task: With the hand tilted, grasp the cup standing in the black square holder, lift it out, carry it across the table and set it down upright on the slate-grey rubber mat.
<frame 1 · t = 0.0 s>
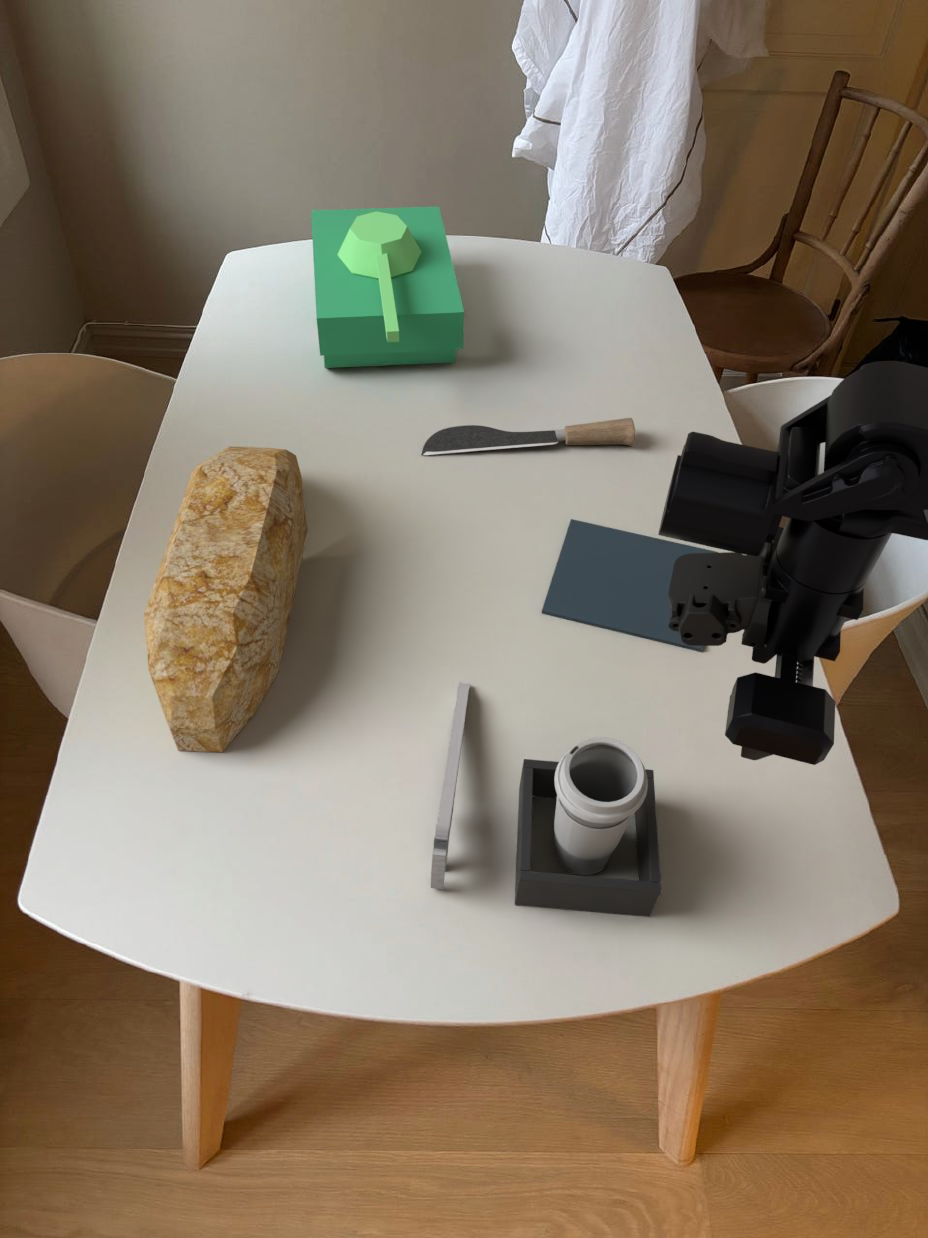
hand: (753, 706, 70), 13 cm above the table, tool pointing down, fingers open, 9 cm apart
toy tank: (386, 334, 125), on the table
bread: (238, 599, 93), on the table
caliper: (451, 782, 81), on the table
cup: (581, 850, 77), resting in holder
mat: (627, 560, 98), on the table
hand tool: (525, 441, 111), on the table
holder: (581, 849, 77), on the table
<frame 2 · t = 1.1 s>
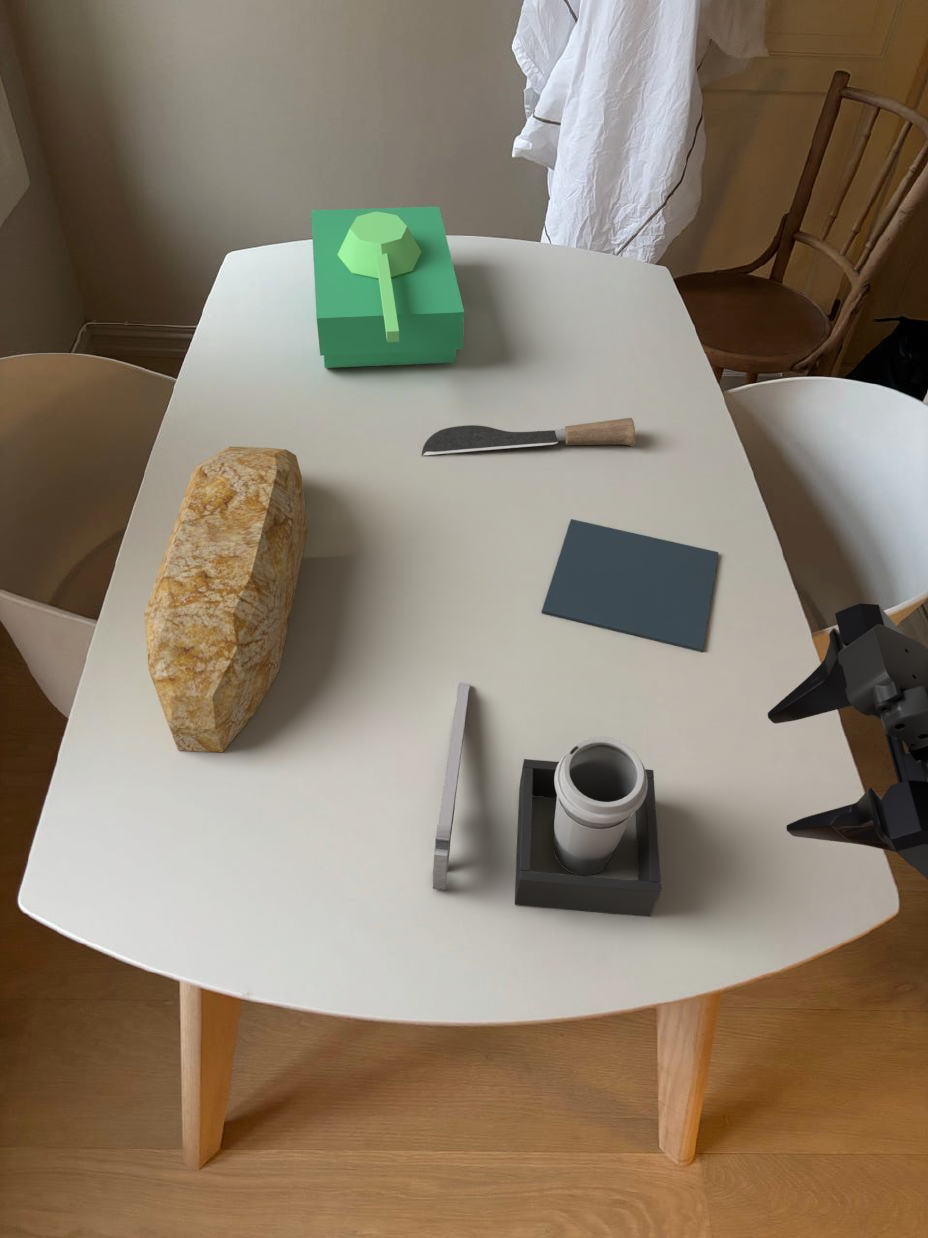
hand: (779, 772, 66), 14 cm above the table, tool tilted 45°, fingers open, 9 cm apart
nothing on the table moved.
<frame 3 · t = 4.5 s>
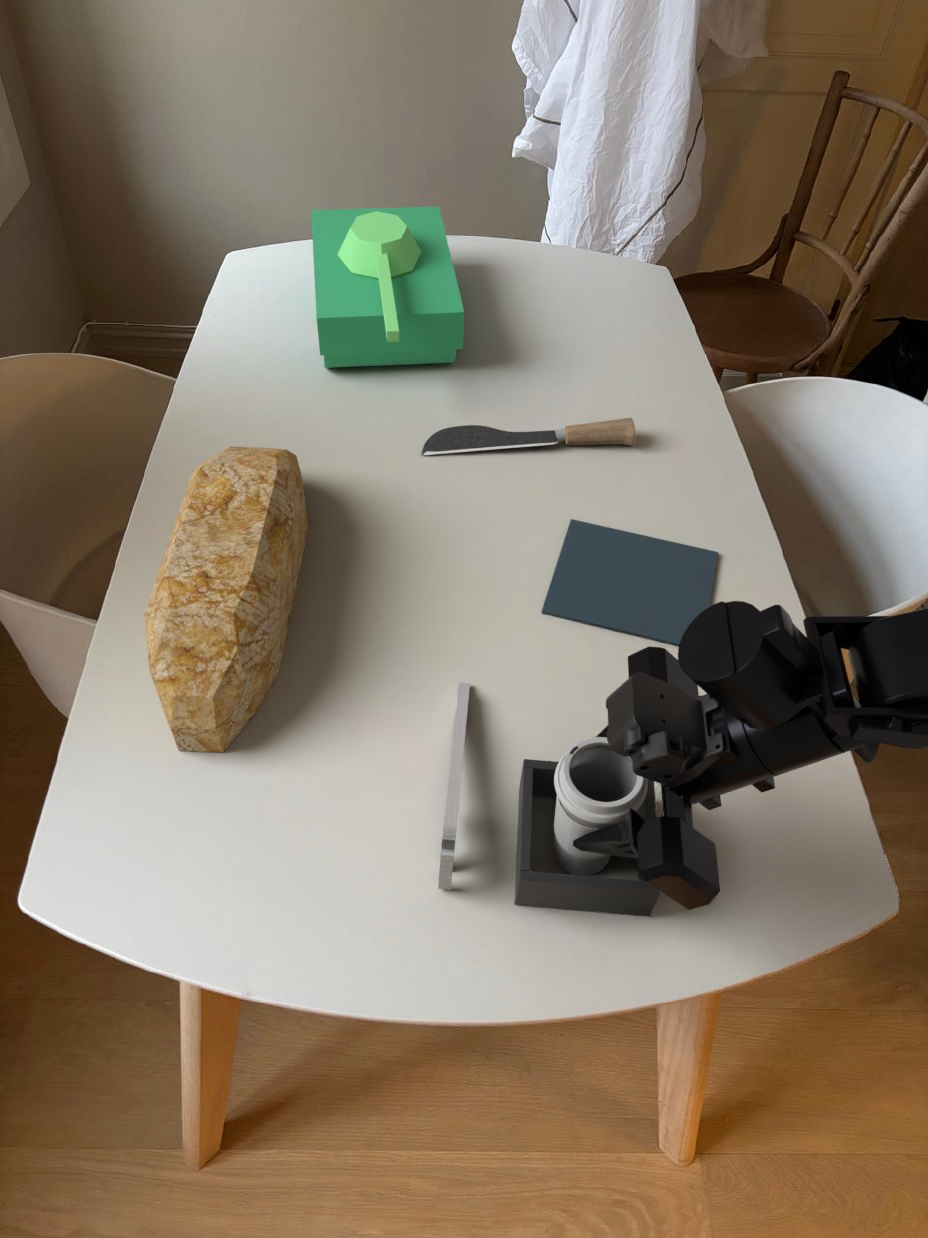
hand: (576, 803, 71), 7 cm above the table, tool tilted 45°, fingers closed on cup, 7 cm apart
cup: (581, 850, 77), resting in holder, touching gripper
everything else where it was.
when the fingers open (8 cm above the table, at t = 12.4 s): cup stays where it is, resting on mat.
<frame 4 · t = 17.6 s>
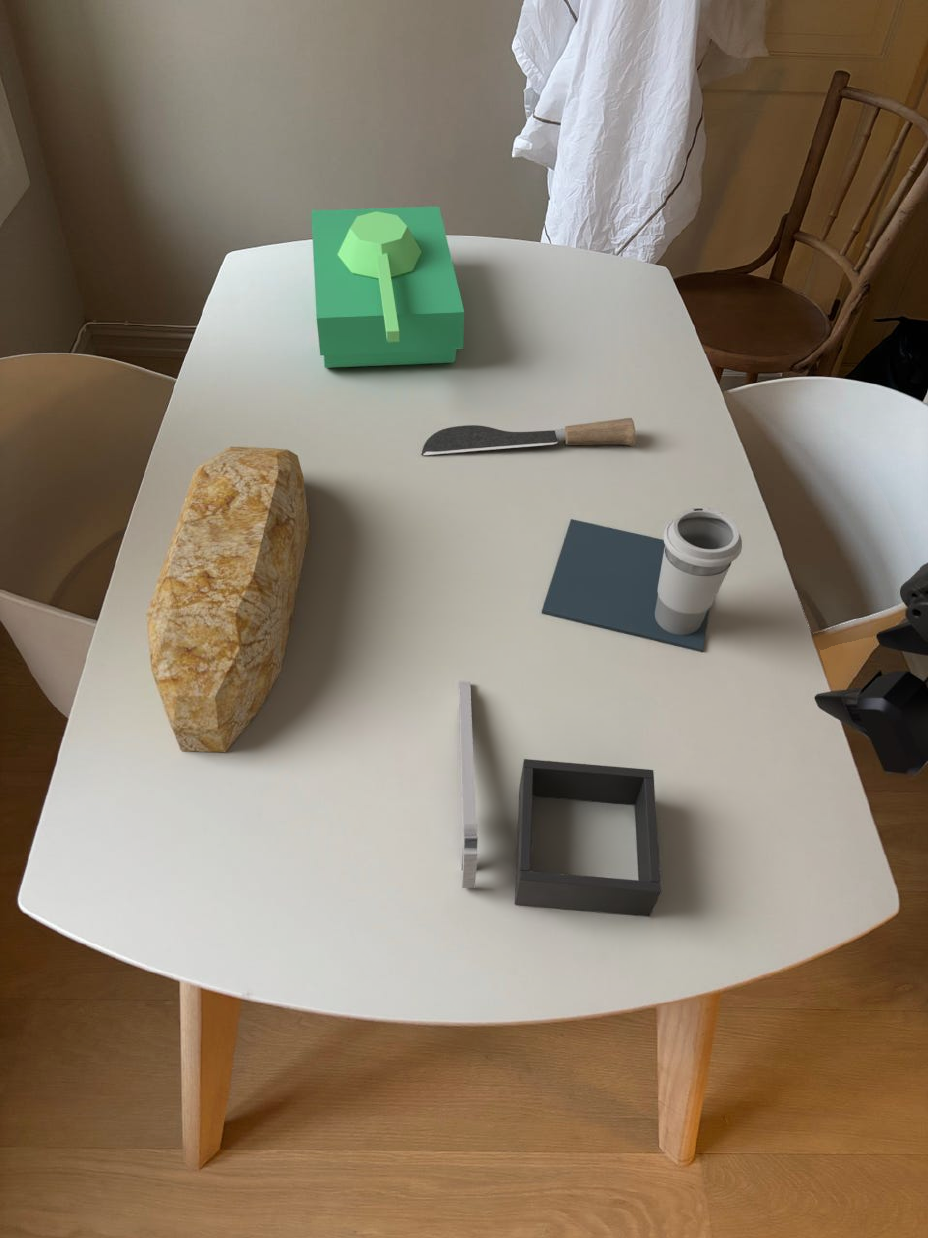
hand: (848, 669, 74), 13 cm above the table, tool tilted 45°, fingers open, 9 cm apart
cup: (677, 618, 93), resting on mat
at the end: cup inside the target area on the mat (0.9 cm from its centre), point 0.2 cm above the mat's base; cup tilted 0°; the gripper is holding nothing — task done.
